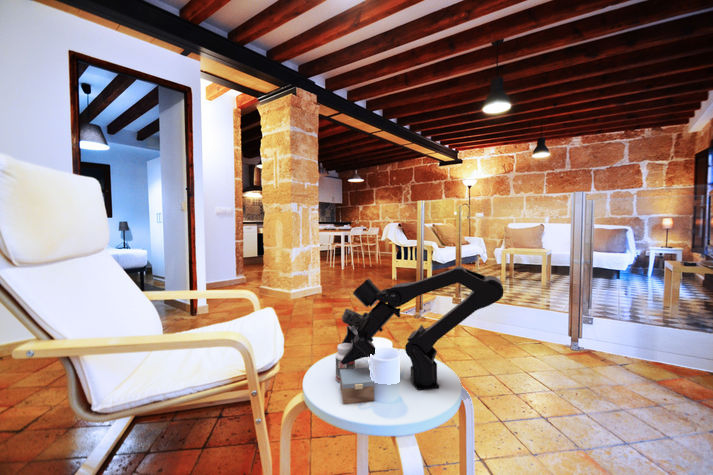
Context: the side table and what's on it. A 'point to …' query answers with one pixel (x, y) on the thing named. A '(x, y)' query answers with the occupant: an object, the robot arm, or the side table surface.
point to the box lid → (356, 378)
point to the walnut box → (357, 394)
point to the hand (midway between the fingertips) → (340, 357)
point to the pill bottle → (340, 355)
